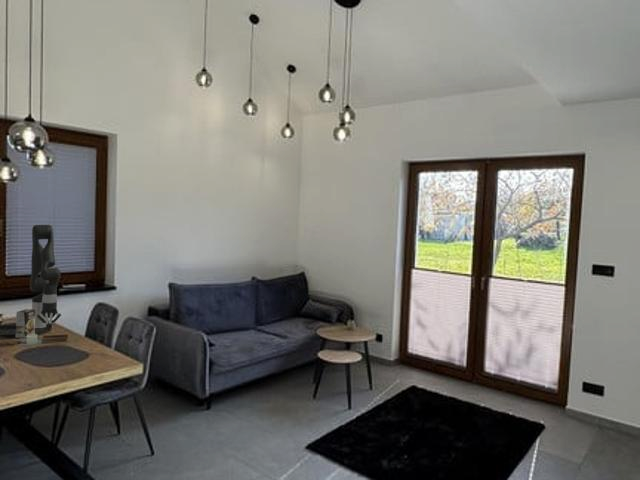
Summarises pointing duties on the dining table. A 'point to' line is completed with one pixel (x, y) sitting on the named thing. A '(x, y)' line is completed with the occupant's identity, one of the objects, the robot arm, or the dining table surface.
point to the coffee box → (25, 323)
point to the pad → (24, 342)
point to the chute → (54, 339)
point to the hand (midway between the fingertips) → (48, 329)
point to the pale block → (32, 338)
